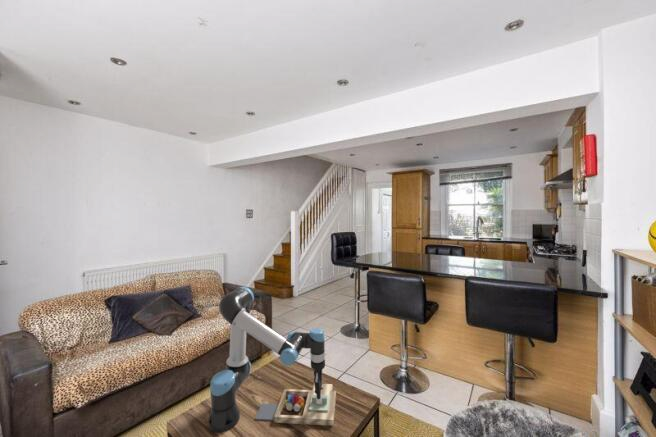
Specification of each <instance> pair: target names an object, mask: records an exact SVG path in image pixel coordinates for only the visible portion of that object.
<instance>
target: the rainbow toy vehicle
mask: <svg viewBox="0 0 656 437" xmlns="http://www.w3.org/2000/svg"><path fill="white" fill-rule="evenodd" d="M286 399H287V400H285V407H286V408H285V409H286V410H287V411H288V412H291V411H292V410H293V411H294V412H300V411H301V408H303V407H304V406H305V404H304V397H299V394H298V395H297V396H296V395H295V393H293V394H292V395H289V396H287V397H286Z"/></svg>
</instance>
